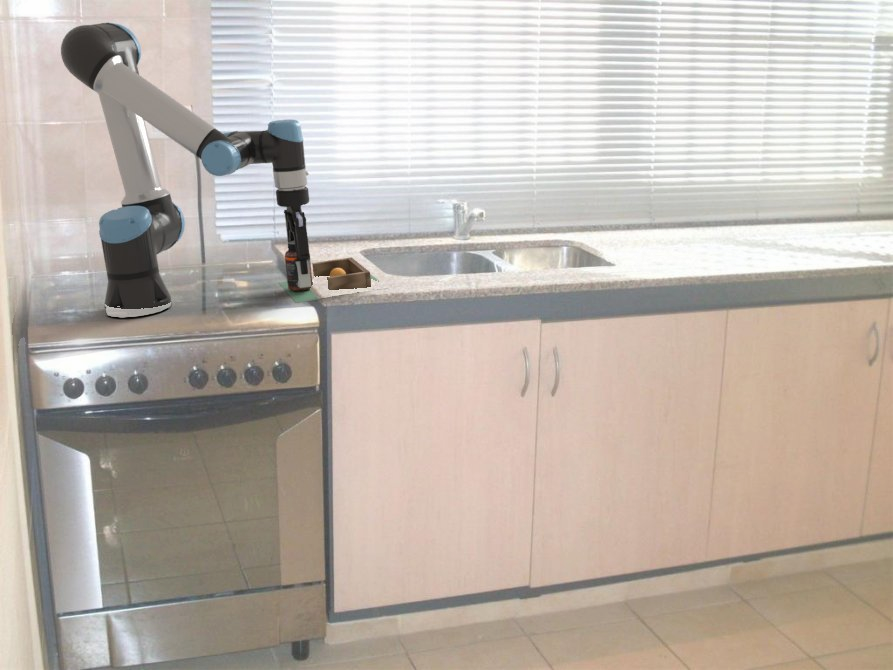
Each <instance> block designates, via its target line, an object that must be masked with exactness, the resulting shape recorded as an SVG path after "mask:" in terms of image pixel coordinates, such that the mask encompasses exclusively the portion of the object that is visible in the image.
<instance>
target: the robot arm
mask: <svg viewBox="0 0 893 670" xmlns="http://www.w3.org/2000/svg"><path fill="white" fill-rule="evenodd" d="M60 56H61V61H62V62H63V65H64V66H65V68H66V70H67V71H68V72H69V73H70V74H71V75H72V76H73V77H74V78H76V79H77V80H79V81H80V82H81V83H82V84H83V85H85V86H86V87H88V88H90V89H91V90H92V91H94V92H95V93H96V94H98V97H99V101H100V105H101V108H102V112H103V115H104V118H105V119H104V120H105V124H106V127H107V131H108V135H109V139H110V142H111V145H112V149H113V152H114V156H115V160H116V164H117V168H118V171H119V172H118V173H119V175H120V178H121V182H122V186H123V190H124V197H123V198H122V200H121V202H120V204H121V207H117V209H116V208H115V209H111V210H109V211H107V212H105V213H104V214H103V215H102V216H100V218H99V220H98V226H99V231H98V232H99V233H98V234H99V237H100V243H101V248H102V253H103V259H104V265H105V269H106V276H107V287H106V293H105V298H104V299H105V300H104V304H106V305H107V306H109V307H114V308H121V309H141V308H143V309H144V308H153V307H158V306H162V305H166V304H168V303H170V302H172V297H171V295H170V292H169V290H168V288H167V286H166V284H165V283H164V280H163V279H162V277H161V274H160V269H159V262H158V256H157V255H159V254H161V253H162V252H163V251H165V252H166V251H168V250H169V249H171V248H172V247H173V246H175V244H177V243H178V242H179V241H180V239H181V238H182V236H183V234H184V231H185V226H186V224H185V223H186V221H185V217H184V214H183V212H182V210H181V208H180V207H179V206H178V205H176V203H174V201H173V200H172V197H171V196H172V195H171V193H170V191H169V190H167V189H166V188H164V187H163V186H162V183H161V179H160V176H159V171H158V168H157V163H156V161H155V156H154V153H153V152H154V151H153V148H152V145H151V144H152V143H151V142H150V138H149V133H148V130H147V126H146V125H147V124H146V123H148V124H149V125H151V126H152V127H154V128H155V129H156V130H157V131H159V132H161V133H162V134H164V135H165V136H166V137H168V138H169V139H171V140H173V141H174V142H175V143H176V144H178V145H179V146H180V147H182V148H184V149H185V150H186V151H188V152H190V153H191V154H193V156H196V157H197V158H198V159H200V160H201V164H202V166H203V167H204V169H205V171H206V172H207V173H209V174H210V175H212V176H215V177H223V176H227V175H231V174H234V173H235V172H236V171H238V170H240V169H243V168H245V167H247V166H249V165H257V164H259V165H260V164H272V174H273V181H274V187H275V188H276V190H275V196H276V205H278V206H279V207H283V208H286V209H283V214H284V219H285V227H286V239H287V243H288V242H291V241H295V247H296V253H297V259H294V261H295V262H297V270H298V279H299V287H300V288H304V287H311V279H310V270H309V261H308V260H309V259H310V260H311V253H309V252H310V247H309V238H308V230H307V229H308V228H307V218H306V216H305V215H306V214H305V212H304V211H302V206H304V205H307V204H309V202H310V195H309V194H310V193H309V188H308V187H307V185H308V178H307V176H309V175H310V174H309V173H310V172H309V171H308V170H306V168H307V167H306V166H307V165H306V162H305V161H306V158H305V147H304V138H303V134H302V133H303V132H302V127H301V123H300V121H298V120H297V119H277V120H273V121H270V122H268V124H267V129H265V130H250V131H246V130H245V131H238V130H234V131H230V132H229V131H228V132H221V131H219V130H218V129H217V128H216V127H214V126H213V125H212V124H210V123H208V122H207V121H206V120H204V119H203V118H201V116H199V115H197V114H195V113H194V112H193V111H191V110H190V109H189V108H187V107H186V106H184V105H183V104H181V103H180V102H179V101H177V100H176V99H174V98H173V97H171V96H170V95H169V94H168V93H166V92H164V91H163V90H161V89H160V88H159V87H157V86H156V85H154V84H153V83H152V82H150V81H149V80H147V79H146V78H144V77H143V76H141V75H140V72H139V68H138V65H139V63H140V60H141V56H142V50H141V45H140V42H139V40H138V39H137V37H136V35H135V33H133V32H132V31H131V30H130V29H129V28H127V27H126V26H124V25H122V24H119V23H112V22H101V23H97V24H96V23H95V24H82V25H78V26H75V27H74V28H71V29H70V30H69V31H68V32H67V33H66V34H65V36H64V37H63V39H62V42H61V45H60ZM287 249H289V248H288V247H287ZM302 254H303V255H302ZM117 306H120V307H117Z"/></svg>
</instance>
